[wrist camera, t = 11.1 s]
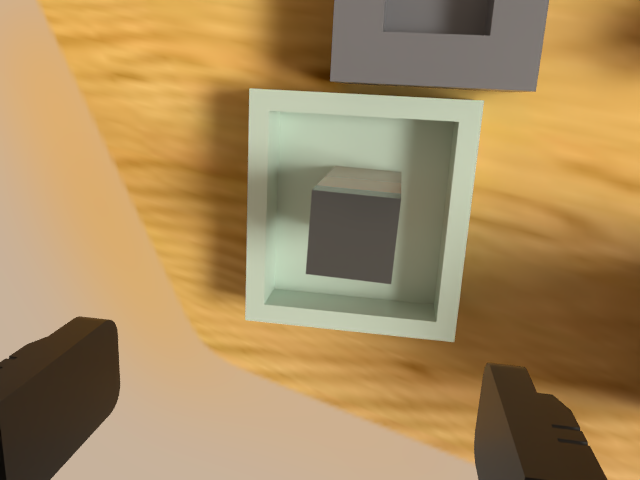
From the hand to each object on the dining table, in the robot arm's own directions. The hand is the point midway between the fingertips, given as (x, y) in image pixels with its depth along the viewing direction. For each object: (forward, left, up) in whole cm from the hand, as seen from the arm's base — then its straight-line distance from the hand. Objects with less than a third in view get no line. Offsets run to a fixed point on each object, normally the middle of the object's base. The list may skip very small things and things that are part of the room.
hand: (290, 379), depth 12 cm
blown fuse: (0, 0, -19) cm, 19 cm away
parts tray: (0, 0, -19) cm, 19 cm away
